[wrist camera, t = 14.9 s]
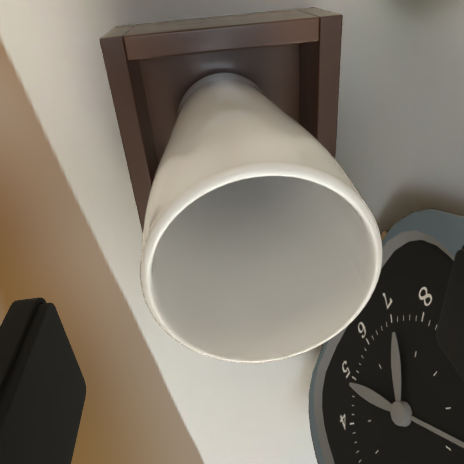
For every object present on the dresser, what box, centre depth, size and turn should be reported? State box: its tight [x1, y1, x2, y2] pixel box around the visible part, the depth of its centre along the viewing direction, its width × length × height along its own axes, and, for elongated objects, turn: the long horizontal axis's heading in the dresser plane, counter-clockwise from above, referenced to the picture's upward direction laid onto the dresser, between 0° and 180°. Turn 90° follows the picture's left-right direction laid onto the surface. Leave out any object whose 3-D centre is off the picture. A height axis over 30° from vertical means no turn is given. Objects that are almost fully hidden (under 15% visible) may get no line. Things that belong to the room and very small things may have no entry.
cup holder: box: [100, 7, 343, 232], centre depth 23 cm, size 10×10×5 cm
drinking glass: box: [140, 73, 383, 363], centre depth 18 cm, size 7×7×15 cm
